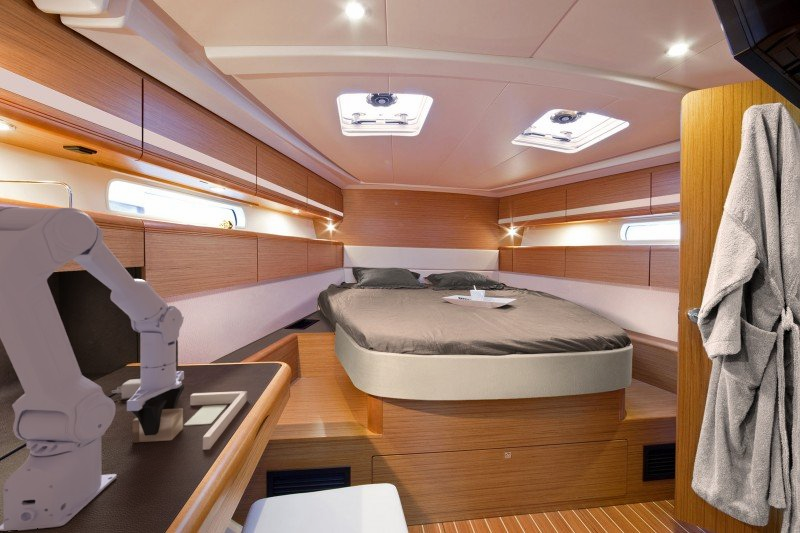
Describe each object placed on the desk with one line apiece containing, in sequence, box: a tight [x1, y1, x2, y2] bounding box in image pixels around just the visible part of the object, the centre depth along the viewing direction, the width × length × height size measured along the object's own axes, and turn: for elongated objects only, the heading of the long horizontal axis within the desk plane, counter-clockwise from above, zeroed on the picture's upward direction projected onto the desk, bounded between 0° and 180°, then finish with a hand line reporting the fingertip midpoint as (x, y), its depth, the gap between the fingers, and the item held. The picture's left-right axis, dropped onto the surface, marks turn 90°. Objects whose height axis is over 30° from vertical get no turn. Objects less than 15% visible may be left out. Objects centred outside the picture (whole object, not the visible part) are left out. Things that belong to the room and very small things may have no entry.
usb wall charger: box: [111, 378, 141, 400], centre depth 79 cm, size 4×7×4 cm, turn 105°
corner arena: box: [183, 390, 248, 451], centre depth 66 cm, size 20×13×2 cm, turn 8°
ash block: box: [132, 408, 184, 443], centre depth 62 cm, size 4×7×4 cm, turn 98°
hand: (158, 427), depth 62 cm, fingers closed on ash block, 4 cm apart
